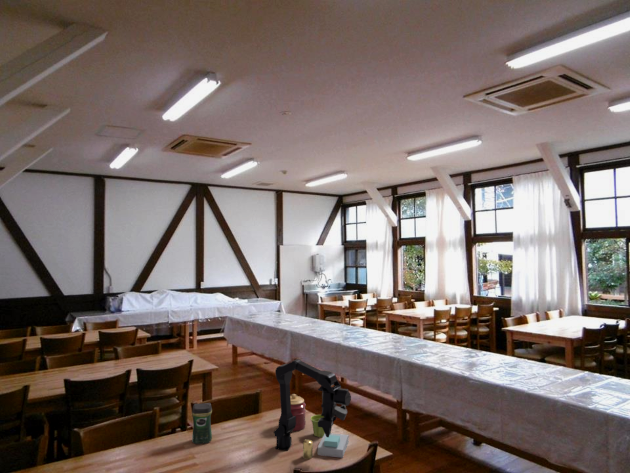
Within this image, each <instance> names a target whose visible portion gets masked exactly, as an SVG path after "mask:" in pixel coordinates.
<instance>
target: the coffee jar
mask: <svg viewBox="0 0 630 473" xmlns="http://www.w3.org/2000/svg"><path fill="white" fill-rule="evenodd" d="M212 413H213V408H212V404H211V402H206V403H205V402H204V403H194V404H193V406H192V413H191V414H192V417H193V420H192V421H193V424H192V425H193V426H192V433H191V434H192V435H191V437H192V438H191V442H192V444H195V445H201V444H202V443H203V444H209V443H210V442H211V441H212V439H213V433H212V432H213V431H212V425H211V424H212V423H211V415H212Z"/></svg>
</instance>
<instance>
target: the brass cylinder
mask: <svg viewBox="0 0 630 473" xmlns="http://www.w3.org/2000/svg"><path fill="white" fill-rule="evenodd" d="M313 443H314V442H313V440H311V439H304V440H303V441H302V458H303V459H304V460H310V459H312V458H313V452H314V450H313V446H314V445H313Z"/></svg>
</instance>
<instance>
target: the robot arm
mask: <svg viewBox="0 0 630 473" xmlns="http://www.w3.org/2000/svg"><path fill="white" fill-rule="evenodd" d="M295 370H296V371H298V372H300V373H302V374H304V375H305V376H308V377H309V378H312V379H313V380H315V381H316V382H317V383H318V385H320V387H319V388H318V389H317V390H318V391H319V392H321V398H322V399H321V401H322V403H321V404H320V406H321V410H322V411H321V414H320V415H321V416H324V417H323V418H320V419H319V421H318V427H322V428H323V430H324V432H325V435H326V437H329V435H330V433H332V430H333V429H332V428H333V426H334V423H335V421H336V420H337V418H338V419H339V420H341V421H345V419H346V417H347V414H348V409H347V407H348V406H349V405H350V404H351V400H352V395H351V393H350V392H349V391H350V390H349V389H348V388H342V386H341V383H340V382H339V380H338V378H337V376H336V374H335V373H334V372H332V371H328V370H321V369H319V368H316V367H315V366H312V365H311V364H308V363H306V362H305V361H302V360H301V359H299V358H298V359H297V358H296V359H294V360H292V361H291V362H289V363H285V364H284V363H283V364H281V365H279V366H277V367H276V368H275V371H274V374H275V378H276V381H277V382H278V384H279V395H280V396H279V397H280V398H279V399H280V415H279V418H278V427H277V428H276V429H275V430H274V431H273V435H274V437H276V446H275V448H274V449H275V450H280V451H289V450H290V448H291V447H292V442H293V441H292V435H291V433H293V432H294V431H293V429H294V428H295V425H296V416H293V415H292V413H291V400H290V396H291V387H290V386H291V380H292V378H293V372H294V371H295ZM337 404H338V405H341V406H338V405H337ZM346 406H347V407H346Z"/></svg>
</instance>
